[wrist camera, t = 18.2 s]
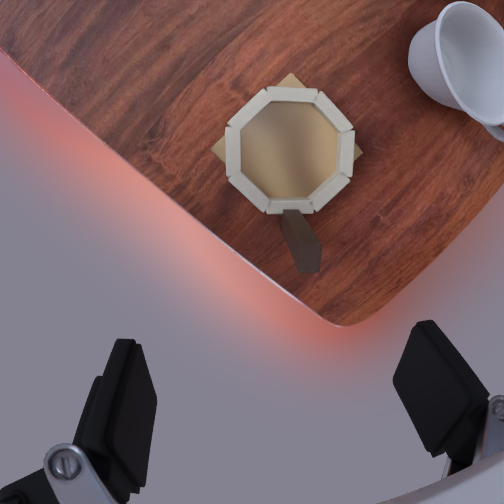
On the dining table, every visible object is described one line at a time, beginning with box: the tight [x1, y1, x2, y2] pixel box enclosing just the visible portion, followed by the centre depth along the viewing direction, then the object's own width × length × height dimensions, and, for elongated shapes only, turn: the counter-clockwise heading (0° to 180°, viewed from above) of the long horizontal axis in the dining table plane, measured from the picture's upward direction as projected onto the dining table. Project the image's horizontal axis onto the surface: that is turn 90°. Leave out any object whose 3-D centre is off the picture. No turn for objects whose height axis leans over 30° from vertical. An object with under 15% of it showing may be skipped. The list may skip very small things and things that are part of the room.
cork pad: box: [210, 73, 363, 215], centre depth 29 cm, size 11×11×1 cm
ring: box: [225, 86, 355, 273], centre depth 25 cm, size 14×12×10 cm
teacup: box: [408, 1, 504, 142], centre depth 22 cm, size 12×15×10 cm
